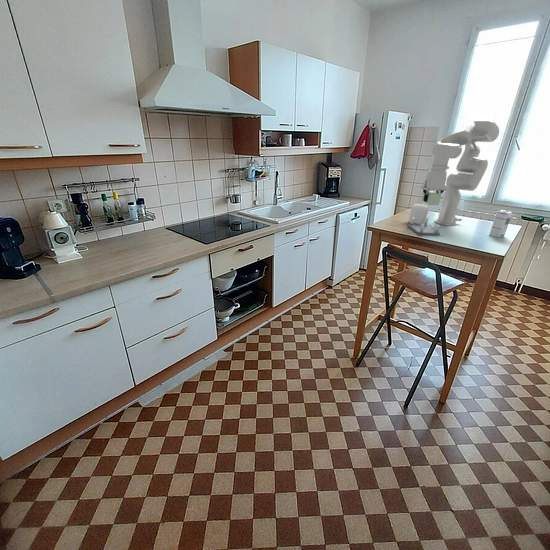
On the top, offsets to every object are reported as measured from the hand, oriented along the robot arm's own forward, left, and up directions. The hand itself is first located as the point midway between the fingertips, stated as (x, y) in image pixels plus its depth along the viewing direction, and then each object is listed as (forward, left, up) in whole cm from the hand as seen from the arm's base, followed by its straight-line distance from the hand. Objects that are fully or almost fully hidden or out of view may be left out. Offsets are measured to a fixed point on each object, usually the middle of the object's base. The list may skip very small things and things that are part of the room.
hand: (430, 201), depth 169 cm
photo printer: (-3, -17, -18) cm, 25 cm away
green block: (0, 0, -1) cm, 1 cm away
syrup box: (-41, +4, -18) cm, 45 cm away
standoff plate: (0, 0, -18) cm, 18 cm away
